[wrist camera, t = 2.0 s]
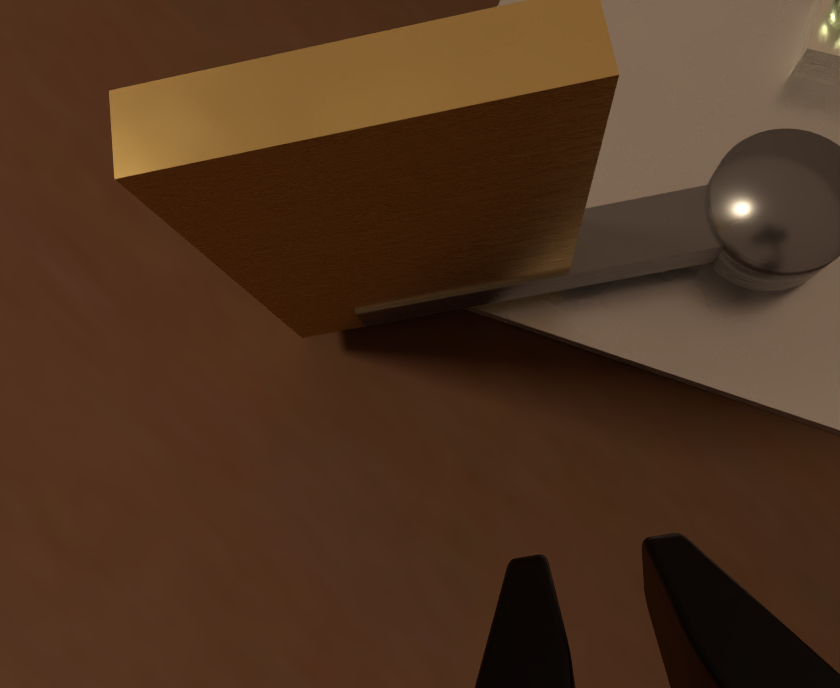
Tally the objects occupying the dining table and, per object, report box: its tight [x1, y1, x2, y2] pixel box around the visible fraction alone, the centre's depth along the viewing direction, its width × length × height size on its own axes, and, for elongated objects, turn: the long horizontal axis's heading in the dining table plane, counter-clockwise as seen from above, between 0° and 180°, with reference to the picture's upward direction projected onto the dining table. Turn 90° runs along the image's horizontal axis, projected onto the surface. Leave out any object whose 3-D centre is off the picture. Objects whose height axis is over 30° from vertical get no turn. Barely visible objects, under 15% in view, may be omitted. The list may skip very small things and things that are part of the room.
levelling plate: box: [464, 0, 840, 435], centre depth 22 cm, size 14×14×3 cm
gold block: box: [109, 0, 840, 338], centre depth 17 cm, size 16×4×11 cm, turn 99°
